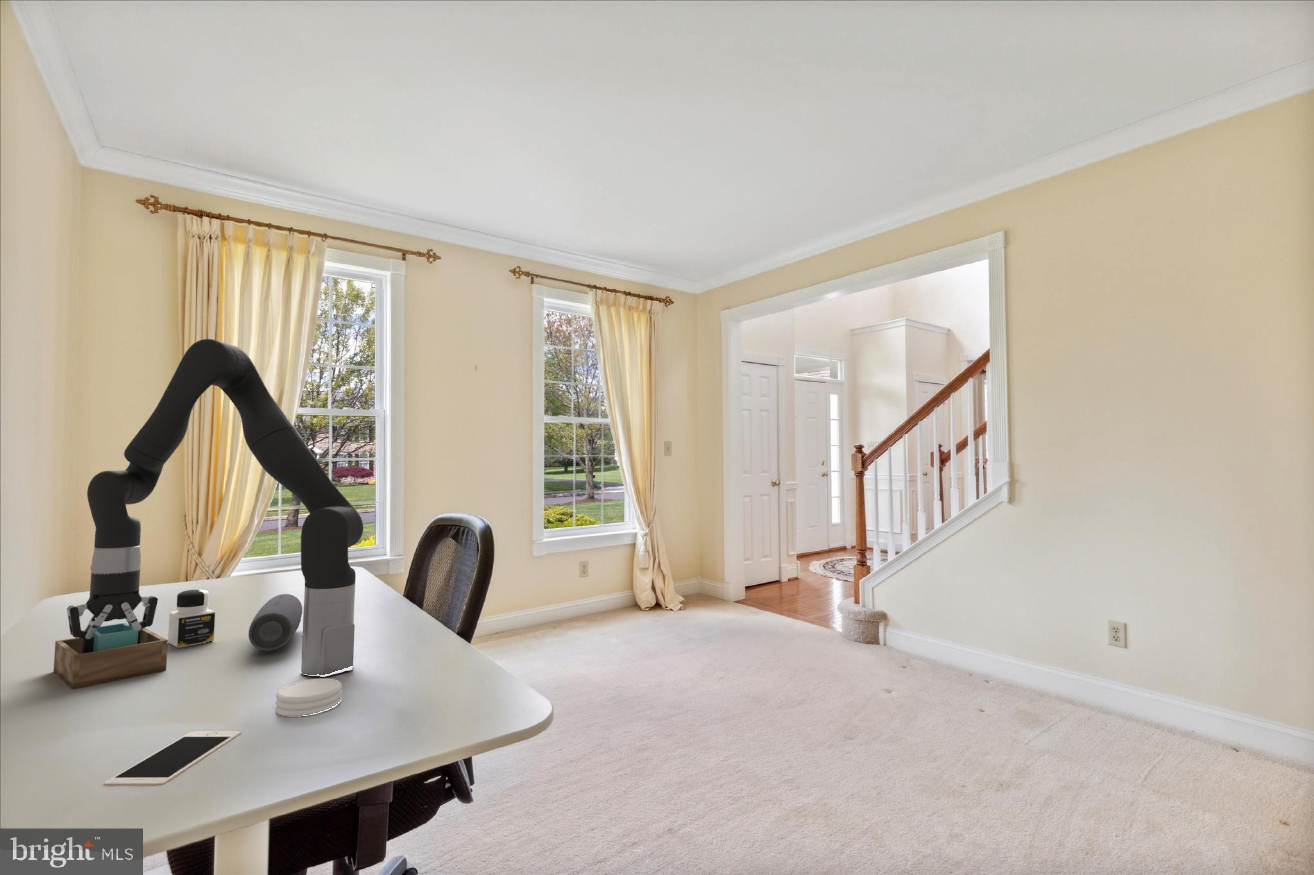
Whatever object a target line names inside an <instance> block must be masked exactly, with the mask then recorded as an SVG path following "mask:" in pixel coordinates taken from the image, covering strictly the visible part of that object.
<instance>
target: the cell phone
mask: <svg viewBox="0 0 1314 875" xmlns="http://www.w3.org/2000/svg"><path fill="white" fill-rule="evenodd" d="M241 734H242V731H234V730H232V731H231V730H229V731H227V730H226V731H223V730H222V731H215V730H213V731H211V730H210V731H205V730H204V731H201V730H199V731H197V730H196V731H190V732H188V733H186V734H185V735H183V736H181V737H179V738H178V739H176V740H174V741H173V742H170V743H169V744H167V745H166V746H164V747H162V748H160V749H159V750H157V751H155V752H153V753H152V754H150V755H149V756H147V757H145V758H143V759H142V760H139V761H138V762H136V763H134V764H133V765H131V766H130V767H128V768H126V769H125V770H122V771H121V772H119V773H117V774H116V775H113V776H112V777H110V778H109V779H107V780H106V781H104V782H103V785H104V786H162V785H165V784H167V783H169V782H170V781H172V780H173V779H174V778H176V777H177V776H180V774H182V773H184V772H185V771H187V770H188V769H190V768H191V767H192V766H194V765H196V764H197V763H199V762H200V761H202V760H203V759H204V758H207V757H208V756H209V755H211V754H212V753H214V752H215V751H217V750H219V749H220V748H222V747H223V746H224V745H226V744H228V743H229V742H231V741H232V740H233V739H235V738H237V737H238V736H240V735H241Z"/></svg>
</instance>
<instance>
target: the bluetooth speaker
mask: <svg viewBox="0 0 1314 875" xmlns="http://www.w3.org/2000/svg"><path fill="white" fill-rule="evenodd" d="M302 615H303V604H302V602H301V601H300V599H299V598H298V597H296V596H295V595H294V594H289V593H281V594H278V595H275V596H274V597H272V598H270V599H268V601H266V602H265V604H263V605H262V607H261V608H260V609H259V610H258V611H257V613H256V614H255V616H254V617H253V619H252V621H251V623H250V625H249V629H248V639H249V642H250V644H251V645H252V647H254V648H255V649H257V650H260V651H264V652H265V651H266V652H267V651H268V652H269V651H271V652H272V651H275V650H278V649H280V647H281V648H282V647H284V645H286V644H288V643H289V641H291V639H292V637H293V636H294V635H295V633H296V632H297V630H298V629H299V626H300V625H301V621H302V617H303V616H302Z"/></svg>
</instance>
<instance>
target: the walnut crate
mask: <svg viewBox="0 0 1314 875" xmlns="http://www.w3.org/2000/svg"><path fill="white" fill-rule="evenodd" d="M82 643H83V639H82V638H75V637H72V638H67V639H60V640H55V644H54V658H53V659H54V660H53V673H54V674H55V675H56V676H58V677H59V678H60V679H61V680H62V681H63V682H64V681H65V682H64V683H65V684H66V683H67V684H68V685H67V684H66V685H67V686H68V687H69V686H70V689H72V690H74V689H75V688H76V689H81V688H87V687H90V686H94V684H96V685H99V683H101V684H105V683H109V682H108V681H110V682H115V681H119V679H120V680H125V679H129V678H130V679H131V678H135V677H138V676H143V675H144V676H145V675H149V674H155V673H158V672H163V671H166V670H167V659H168V658H167V657H168V644H169V643H168V638H165V637H163V636H161V635H159V634H157V633H156V632H154V631H151V630H149V628H147V627H145V628H143V629H142V630H141V632H140V644H136V645H131V646H125V647H119V648H113V649H107V650H101V651H95V652H90V653H84V654H83V653H82ZM114 680H115V681H114Z"/></svg>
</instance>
